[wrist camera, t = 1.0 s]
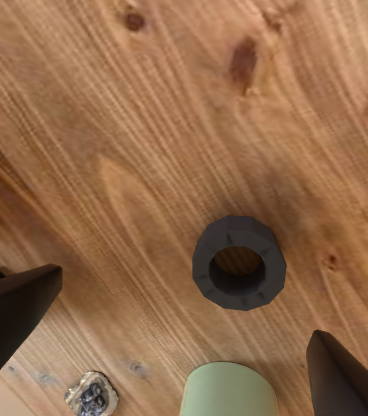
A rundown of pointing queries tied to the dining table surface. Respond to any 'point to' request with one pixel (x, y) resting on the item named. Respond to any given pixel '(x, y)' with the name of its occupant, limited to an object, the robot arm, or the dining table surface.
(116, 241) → the dining table surface
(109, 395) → the blueberry tart
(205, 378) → the green cylinder with peg
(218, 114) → the dining table surface
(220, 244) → the rubber ring
